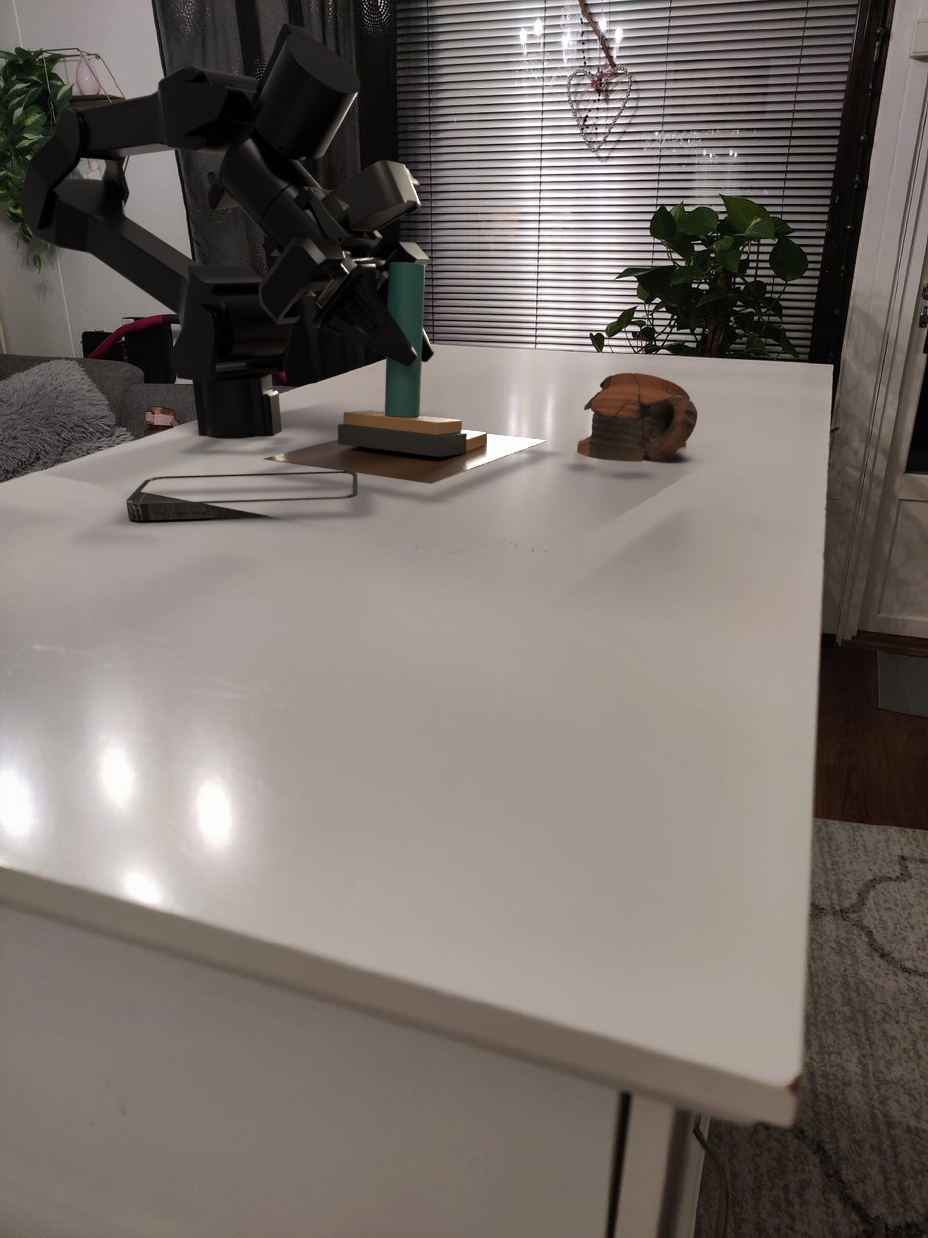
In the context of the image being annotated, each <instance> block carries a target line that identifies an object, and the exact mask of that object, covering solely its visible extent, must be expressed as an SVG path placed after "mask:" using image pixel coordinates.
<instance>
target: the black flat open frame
mask: <svg viewBox="0 0 928 1238" xmlns="http://www.w3.org/2000/svg"><path fill="white" fill-rule="evenodd" d="M320 474H321V475H322V474H323V475H324V474H346V475H351V476H352V492H351V493H350V494H347V495H342V496H341V495H340V496H320V497H319V496H318V497H292V498H291V497H290V498H260V499H230V500H229V499H228V500H197V501H192V500H188V499H181V498H176V497H170V496H165V495H161V494H160V495H159V494H155V493H150V492H145V491H143V490H144V488H145V487H147V485H148V484H149V483H151V482H152V481H153V482H154V481H157V480H163V479H164V480H165V479H191V478H194V479H195V478H222V477H223V478H226V477H228V478H229V477H256V476H259V477H260V476H261V477H262V476H287V475H288V476H289V475H290V476H291V475H294V476H295V475H320ZM357 496H358V473H355V472H350V471H340V470H333V471H331V470H329V471H303V472H301V471H297V472H269V473H268V472H267V473H235V474H233V473H232V474H230V473H229V474H206V475H205V474H204V475H203V474H202V475H201V474H200V475H197V474H196V475H166V476H155V477H149V478H147V479H145V480H144V481H143V482H142V483H141V484H140V485H139V486H138V487H137V488H136V489H135V491H133V492H132V493H131V494H130V496H129V497H128V498H127V499H126V501H125V502H126V510H127V516H128V518H129V519H130V520H132V521H163V520H164V521H165V520H166V521H167V520H196V519H197V520H198V519H220V518H223V519H225V518H251V517H254V518H255V517H269V515H267V514H261V513H257V512H252V511H251V512H250V511H246V510H240V509H234V508H229V507H224V506H220V505H219V506H218V505H215V504H228V503H229V504H230V503H261V502H262V503H264V502H285V501H286V502H287V501H288V502H290V501H293V502H294V501H320V500H324V501H325V500H344V499H351V498H354V497H357ZM213 504H214V505H213Z"/></svg>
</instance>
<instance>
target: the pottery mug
mask: <svg viewBox="0 0 928 1238" xmlns="http://www.w3.org/2000/svg"><path fill="white" fill-rule="evenodd" d="M599 387H600V388H601V390H599V391H598V392H596V394H594V396H593V397H591V398H590V400H588V402H587V403H586V404H585V405H584V408H583V410H584V411H587V410H591V411H592V412H593V414H592V418H591V434H590V435H589V436H588V437H585V438H584V439H581V440H580V441H578V443H577V448H576V452H577V454H579V455H582V456H585V457H587V458H593V459H597V460H604V461H614V462H617V461H618V462H638V463H639V462H642V461H643V459H644V455H645V453H646V454H647V455H648V456H649V459H650V460H651V462H667V461H672V460H673V459H674V457H675V455H676V453H677V451H679V450H680V449H681V448H686V447H687V441H688V440H689V438H690V437H691V435H692V434H693V433H694V430H695V427H696V424H697V420H698V409H697V407H696V406H695V404H694V402H693V401H692V400H691V398H690V395H689V393H688V392H687V391H686V390H685V389H684V388H683V387H682V386H680V385H678V384H677V383H676V382H673V381H671V380H668V379H665V378H662V377H660V376H656V375H652V374H646V373H640V372H633V373H632V372H621V373H616V374H613V375H609V376H607V377H606V378H604V379H603V380H602V381H601V382H600V383H599Z"/></svg>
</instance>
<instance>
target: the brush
mask: <svg viewBox="0 0 928 1238" xmlns="http://www.w3.org/2000/svg"><path fill="white" fill-rule="evenodd" d="M425 280H426V267H425V265H423V264H417V263H404V262H391V263H389V267H388V307H387V309H388V311H389V312H390V314H391V315H392V317H393V318H394V320H395V321H396V323H397V324H398V326H399V327H400V329H401V330H402V331H403V333H404V334H405V336H406V337H407V339H408V340H409V342H410V344H411V345H412V347H413V349H414V350H415V352H416V353H417V355H418V358H417V360H416V361H415V362H414V363H413V364H412V365H411V366H405V365H403V364H401V363H399V362H397V361H394V360H392V359H390V358H388V357H386V356H385V387H384V389H385V391H384V392H385V394H384V411H378V410H355V411H344V412H343V423H338V424H337V439H338V444H343V445H350V446H358V447H366V448H373V449H381V450H388V451H396V452H403V453H411V454H418V455H426V456H434V457H444V456H451V455H458V454H465V453H466V442H467V433H461V431H462V430H463V420H461V419H455V418H445V417H436V416H435V417H434V416H426V415H425V416H424V415H421V414H420V413H421V388H422V363H423V362H422V337H423V329H424V309H425V307H424V306H425V284H426V283H425V282H426V281H425Z"/></svg>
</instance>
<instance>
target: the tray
mask: <svg viewBox="0 0 928 1238" xmlns="http://www.w3.org/2000/svg"><path fill="white" fill-rule="evenodd" d="M545 442H547V440H545V439H544V440H543V439H536V438H526V437H517V436H509V435H499V434H488V433H487V445H484V446H481V447H478V448H475V449H472V450H470V451H467V452H466V453H465V454H458V455H451V456H444V457H434V456H426V455H418V454H411V453H403V452H396V451H388V450H381V449H373V448H366V447H358V446H350V445H343V444H338V438H337V439H334V440H329V441H327V442H323V443H318V444H314V445H311V446H307V447H303V448H298V449H296V450H291V451H287V452H284V453H280V454H276V455H272V456H268V457H265V458H264V457H263V460H267V461H272V462H280V463H285V464H292V465H293V464H294V465H300V466H305V467H314V468H318V469H319V468H320V469H321V468H322V469H326V470H333V471H350V472H355V473H356V474H361V475H370V476H376V477H383V478H389V479H395V480H402V481H409V482H416V483H423V484H431V485H433V484H434V483H435V484H436V483H437V482H441V481H443V480H446V479H449V478H451V477H454V476H456V475H460V474H461V473H464V472H468V471H469V470H472V469H475V468H478V467H480V466H483V465H486V464H488V463H491V462H494V461H497V460H499V459H502V458H505V457H507V456H510V455H513V454H515V453H518V452H521V451H524V450H527V449H529V448H533V447H535V446H537V445H541V444H543V443H545Z"/></svg>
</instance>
